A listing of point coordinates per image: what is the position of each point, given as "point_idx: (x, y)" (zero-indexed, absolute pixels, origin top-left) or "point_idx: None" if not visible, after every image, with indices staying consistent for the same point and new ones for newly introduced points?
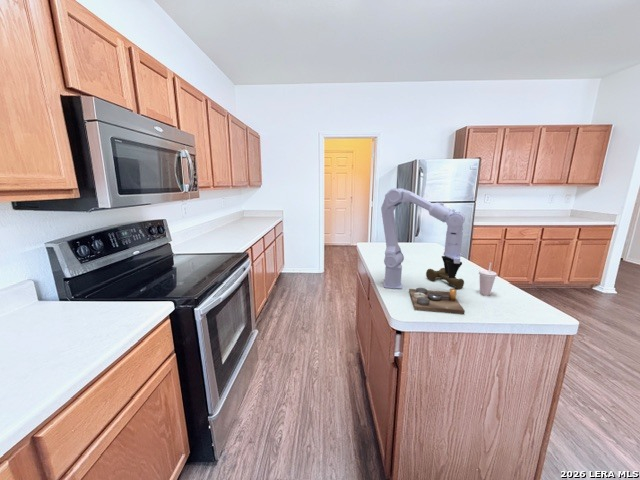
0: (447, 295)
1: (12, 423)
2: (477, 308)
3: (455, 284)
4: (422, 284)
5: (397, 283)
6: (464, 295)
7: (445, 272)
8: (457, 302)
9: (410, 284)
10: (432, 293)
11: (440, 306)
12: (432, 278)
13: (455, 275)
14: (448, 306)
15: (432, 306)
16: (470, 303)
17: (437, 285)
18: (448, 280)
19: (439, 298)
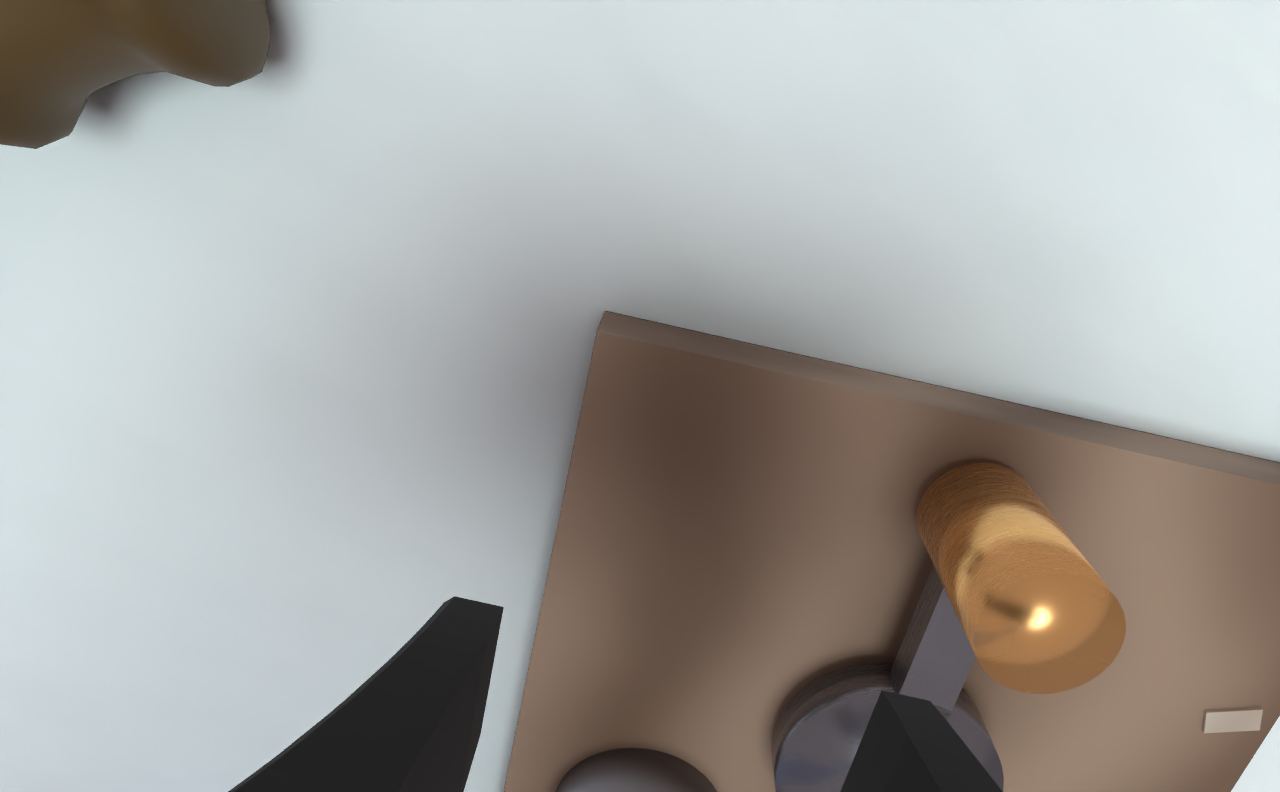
0: (766, 487)
1: None
2: (1219, 117)
3: (235, 77)
4: (134, 571)
5: None
6: (605, 29)
7: (469, 769)
8: (1083, 466)
9: (177, 740)
10: (816, 790)
11: (1162, 774)
12: None
13: (984, 772)
14: (1193, 674)
15: None
16: (991, 128)
17: (124, 333)
18: (18, 146)
19: (993, 748)
